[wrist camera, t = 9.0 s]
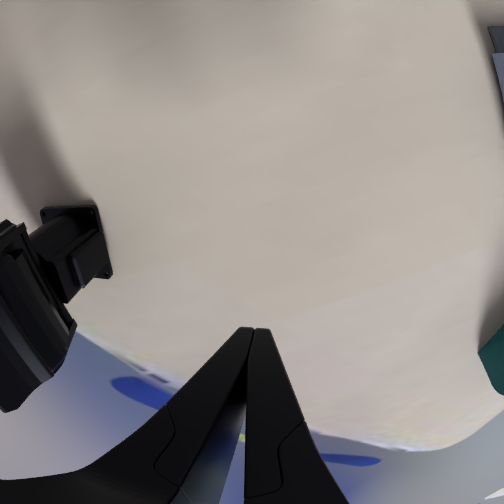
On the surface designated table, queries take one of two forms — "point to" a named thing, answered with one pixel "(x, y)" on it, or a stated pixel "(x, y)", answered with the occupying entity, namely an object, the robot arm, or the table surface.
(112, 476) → the robot arm
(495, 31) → the mat
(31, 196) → the table surface
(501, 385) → the bracket
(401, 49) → the table surface
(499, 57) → the book block
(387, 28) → the table surface
